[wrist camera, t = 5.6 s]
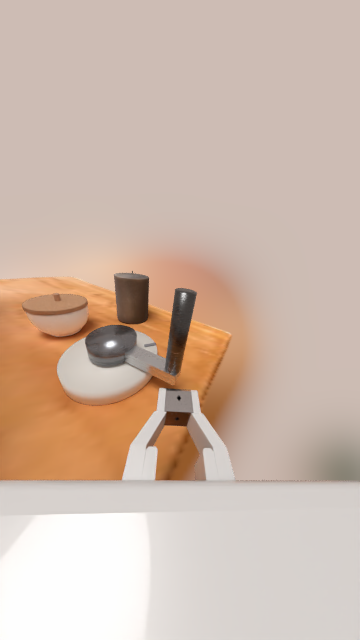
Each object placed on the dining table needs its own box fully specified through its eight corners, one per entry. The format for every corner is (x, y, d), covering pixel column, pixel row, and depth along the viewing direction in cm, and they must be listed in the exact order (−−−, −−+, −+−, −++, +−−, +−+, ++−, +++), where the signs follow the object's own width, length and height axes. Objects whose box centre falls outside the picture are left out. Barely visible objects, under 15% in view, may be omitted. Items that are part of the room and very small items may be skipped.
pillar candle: (152, 321, 43) (155, 274, 36) (122, 326, 37) (118, 272, 31) (141, 310, 49) (141, 269, 43) (113, 313, 44) (109, 266, 37)
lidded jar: (96, 334, 32) (90, 299, 28) (34, 349, 25) (13, 305, 21) (87, 317, 39) (81, 286, 35) (36, 325, 32) (21, 288, 28)
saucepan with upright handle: (76, 354, 22) (52, 265, 15) (115, 332, 28) (109, 265, 22) (165, 403, 17) (182, 303, 10) (186, 363, 23) (204, 288, 17)
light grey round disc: (68, 348, 27) (64, 335, 25) (143, 334, 35) (143, 324, 34) (52, 429, 15) (44, 415, 14) (169, 380, 24) (171, 367, 22)
